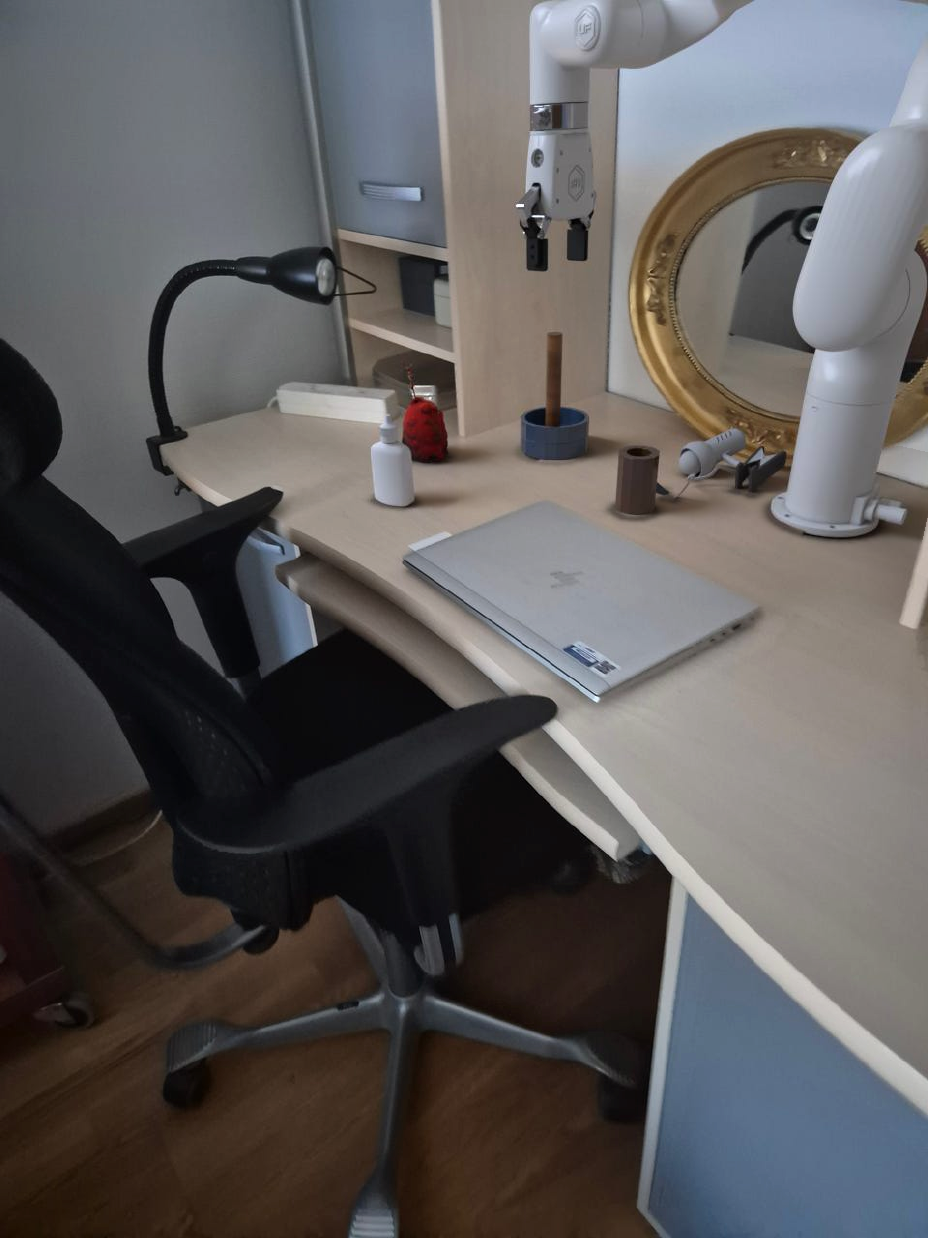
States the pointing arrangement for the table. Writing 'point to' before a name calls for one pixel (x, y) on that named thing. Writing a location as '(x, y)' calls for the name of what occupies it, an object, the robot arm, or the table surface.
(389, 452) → the eye dropper bottle
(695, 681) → the table surface
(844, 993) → the table surface
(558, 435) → the bowl
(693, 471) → the clip-on lamp
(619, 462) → the holder
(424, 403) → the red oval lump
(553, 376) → the stick
